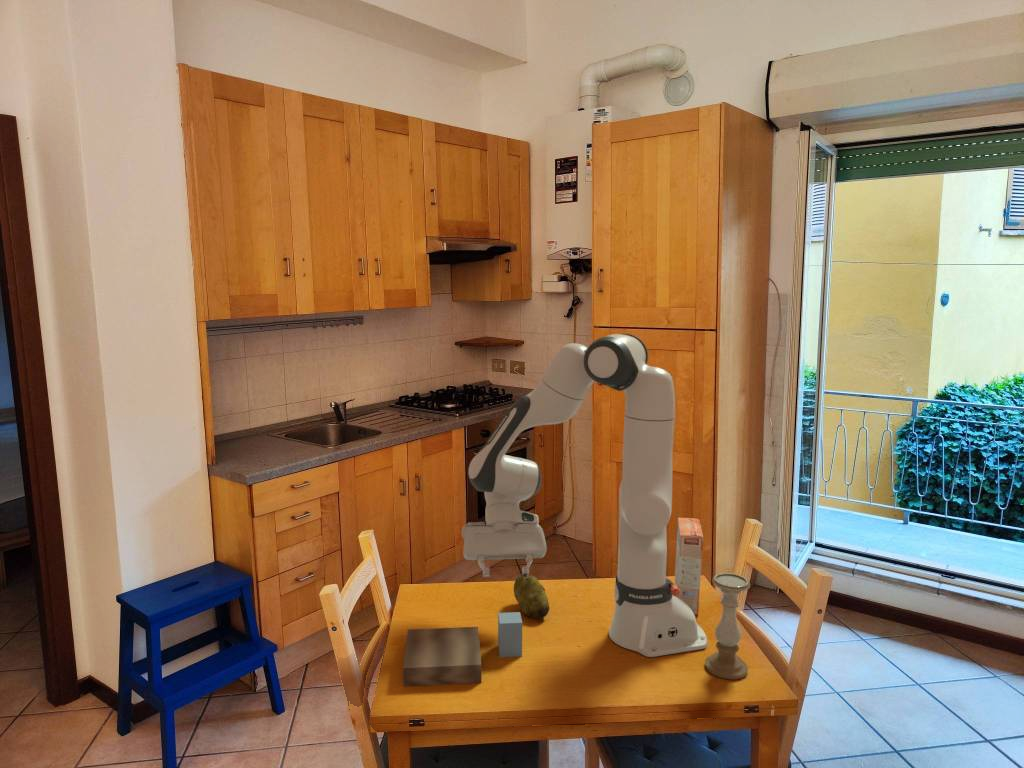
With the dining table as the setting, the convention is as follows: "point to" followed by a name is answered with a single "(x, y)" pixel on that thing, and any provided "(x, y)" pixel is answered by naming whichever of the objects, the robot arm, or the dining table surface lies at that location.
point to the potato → (531, 596)
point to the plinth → (442, 656)
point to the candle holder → (728, 629)
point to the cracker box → (689, 561)
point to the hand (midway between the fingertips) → (506, 575)
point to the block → (510, 634)
